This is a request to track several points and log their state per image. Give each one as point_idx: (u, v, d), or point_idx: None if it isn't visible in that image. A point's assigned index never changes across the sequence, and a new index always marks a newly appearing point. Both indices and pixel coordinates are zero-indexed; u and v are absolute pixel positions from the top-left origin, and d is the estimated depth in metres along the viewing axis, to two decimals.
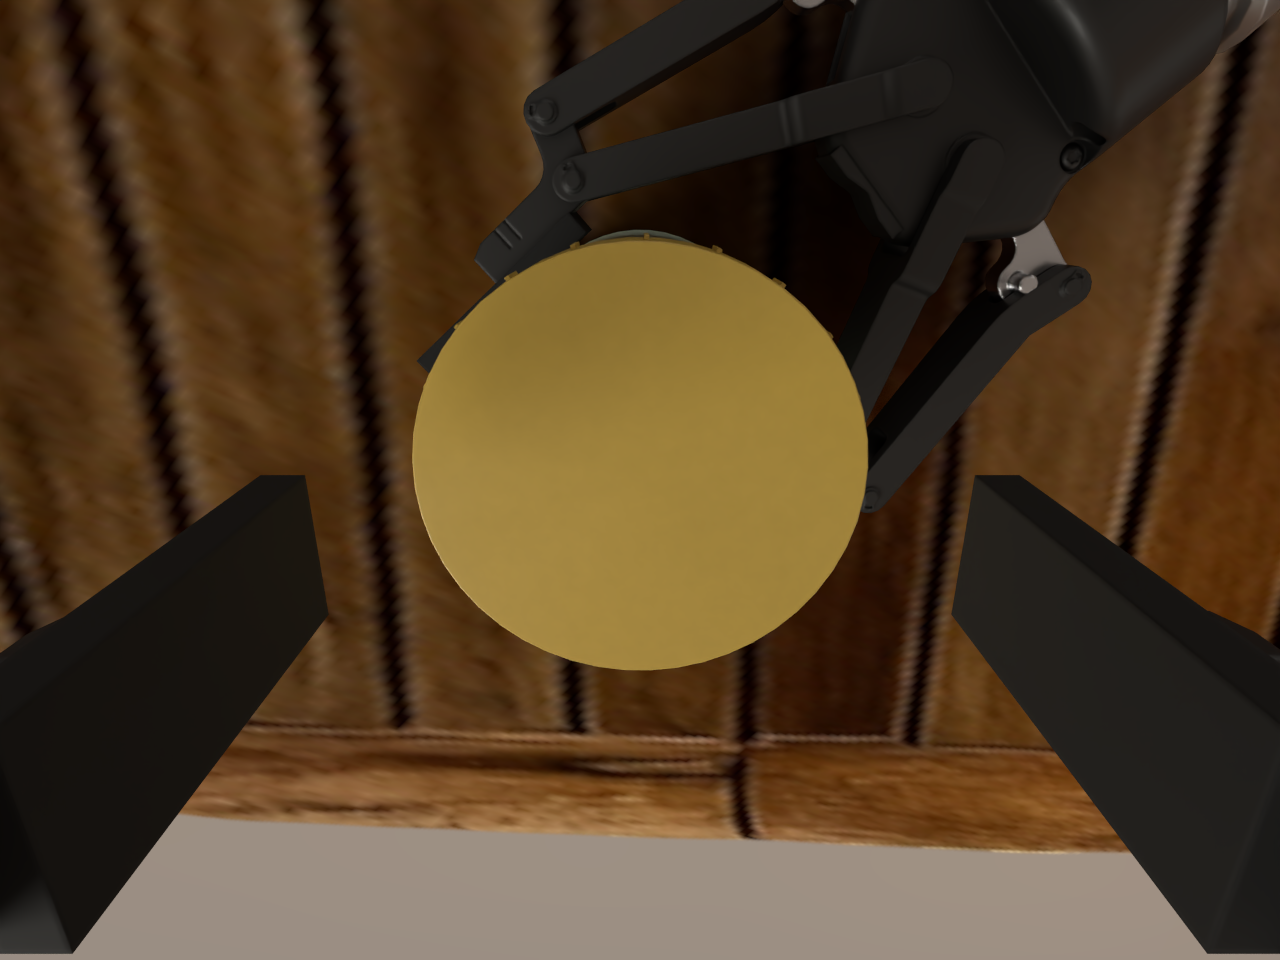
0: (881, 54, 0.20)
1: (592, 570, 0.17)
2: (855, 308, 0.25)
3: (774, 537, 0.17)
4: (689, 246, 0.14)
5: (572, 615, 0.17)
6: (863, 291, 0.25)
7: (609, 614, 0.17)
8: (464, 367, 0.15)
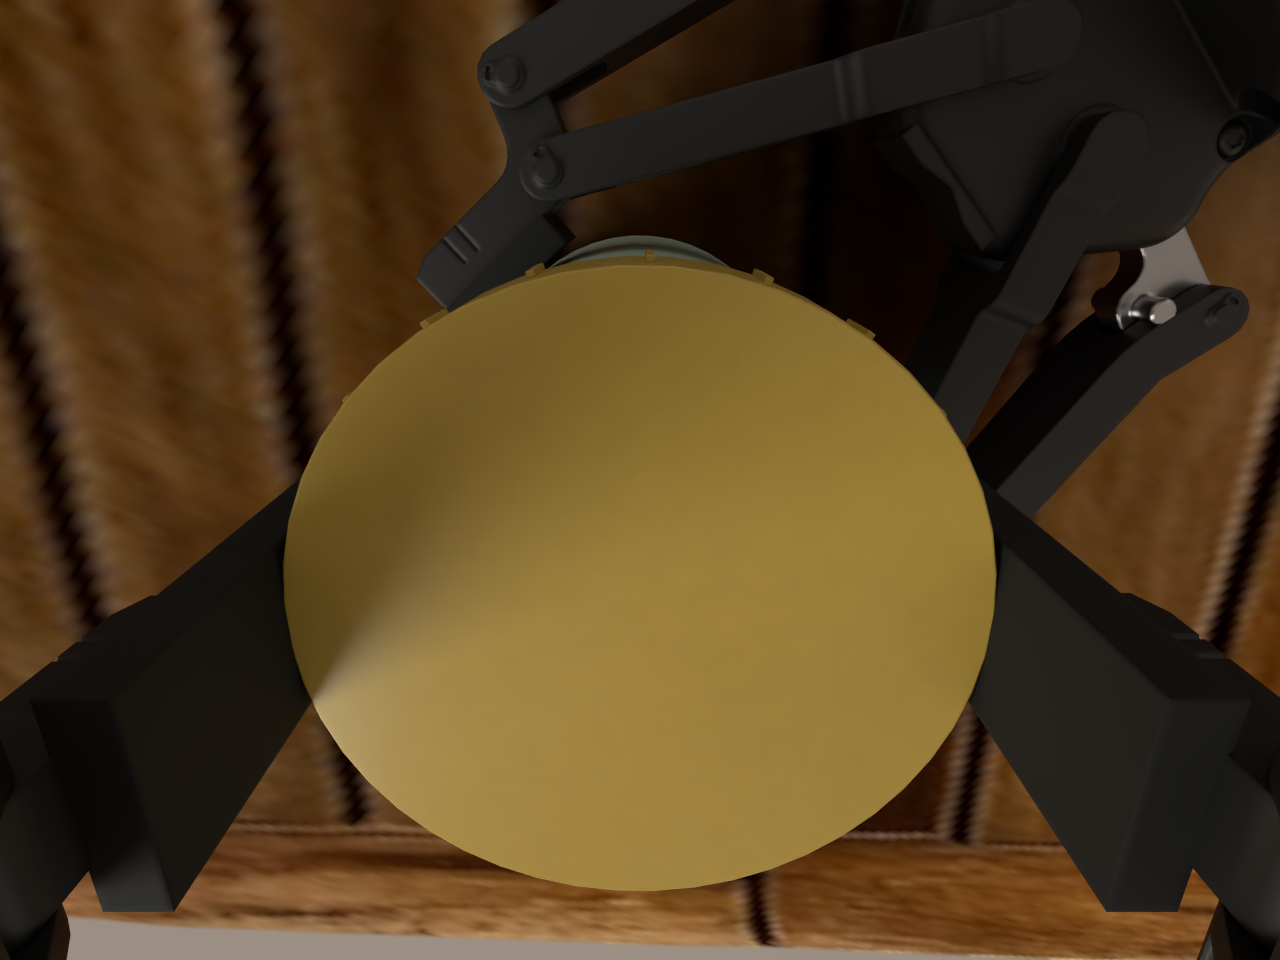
0: None
1: (567, 759, 0.11)
2: (920, 339, 0.19)
3: (844, 713, 0.11)
4: (721, 274, 0.09)
5: (538, 819, 0.12)
6: (931, 317, 0.19)
7: (594, 818, 0.12)
8: (357, 466, 0.10)
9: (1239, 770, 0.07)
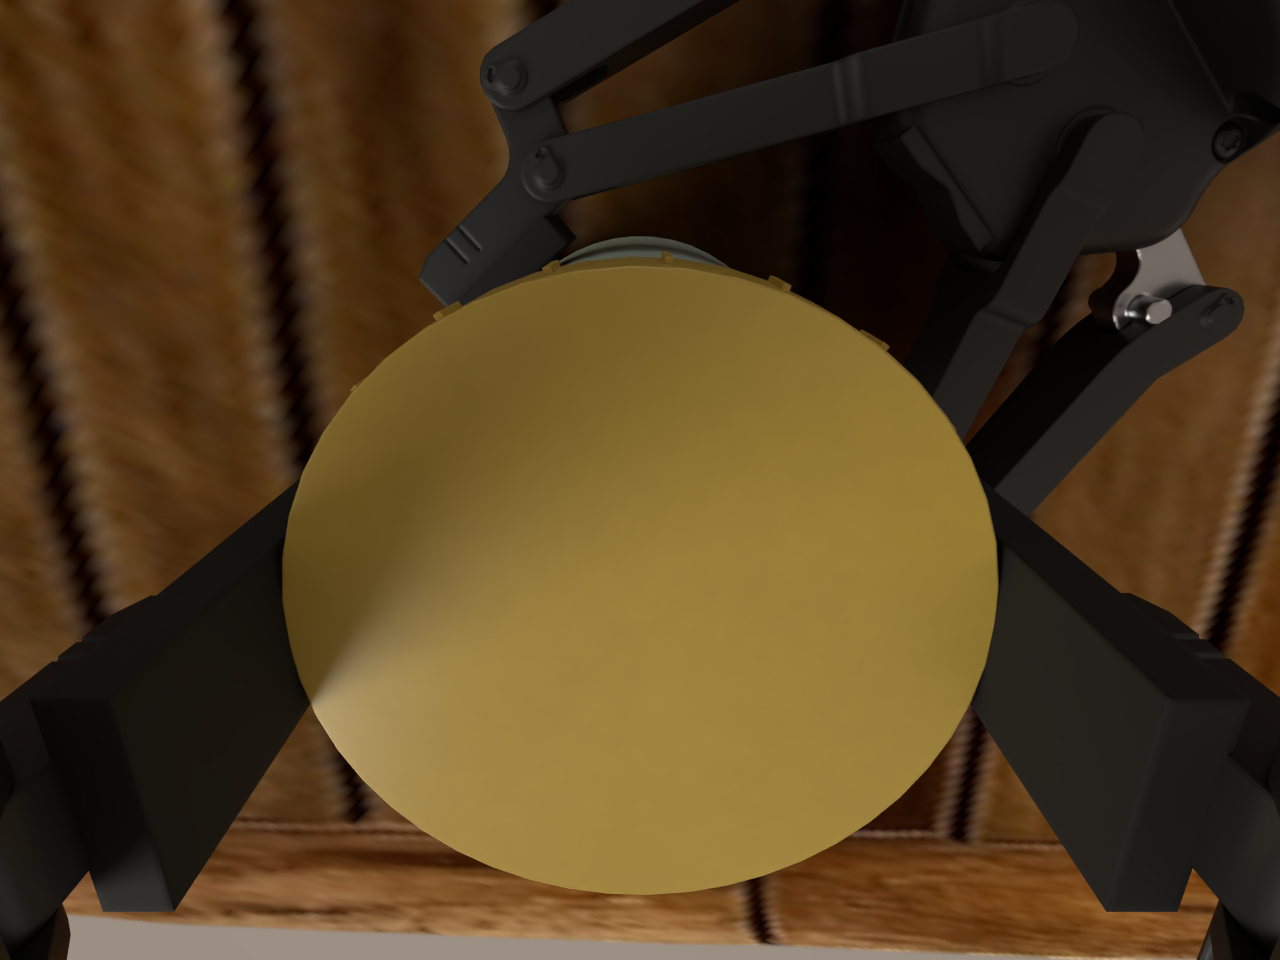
0: None
1: (747, 744, 0.11)
2: (918, 339, 0.19)
3: (834, 487, 0.10)
4: (320, 439, 0.09)
5: (802, 793, 0.11)
6: (929, 318, 0.19)
7: (828, 751, 0.11)
8: (393, 767, 0.11)
9: (1239, 769, 0.07)
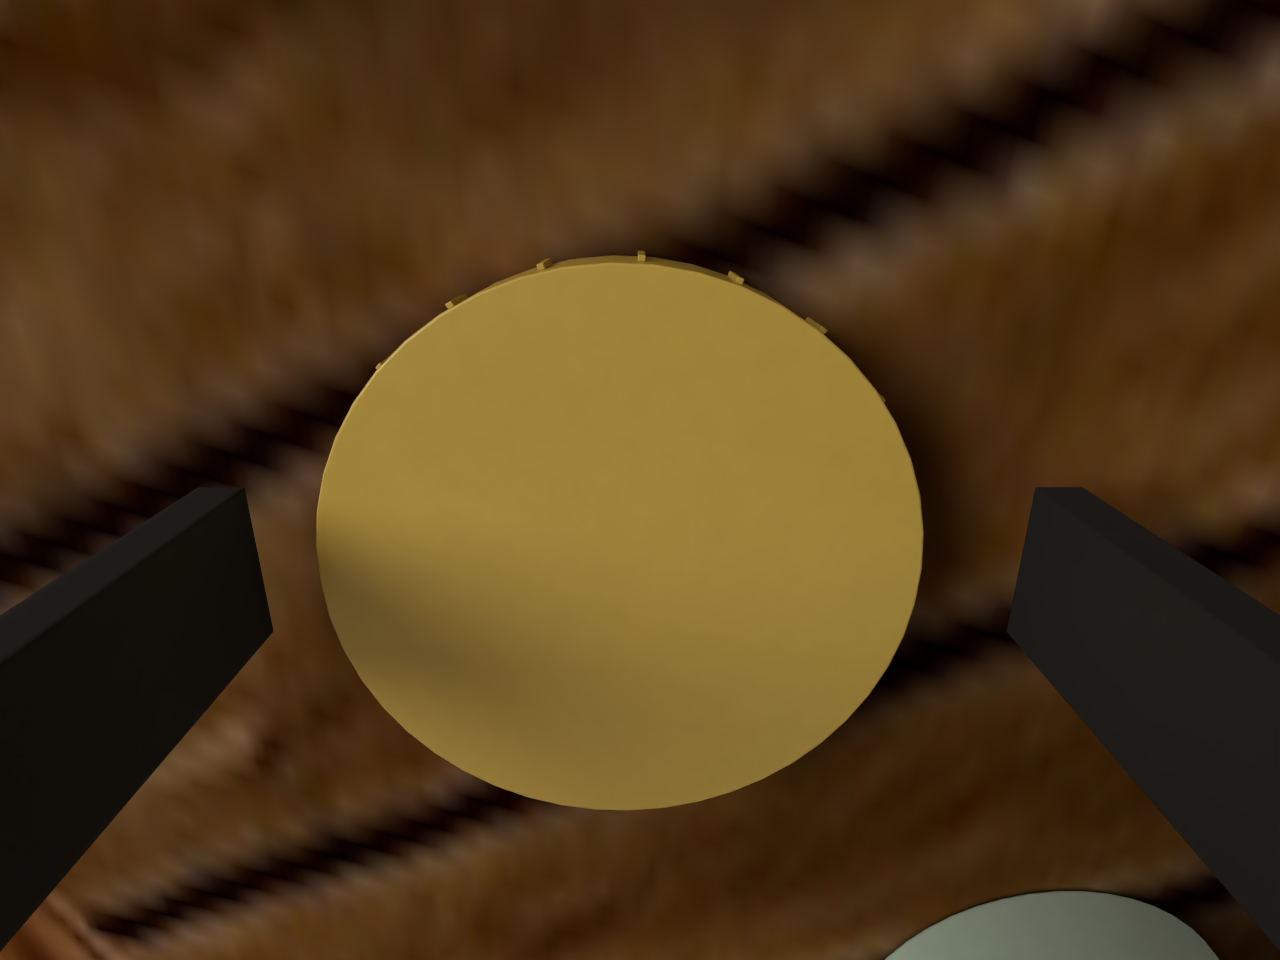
0: None
1: (714, 673, 0.13)
2: None
3: (782, 449, 0.11)
4: (350, 408, 0.11)
5: (762, 717, 0.13)
6: None
7: (783, 679, 0.13)
8: (409, 695, 0.13)
9: None
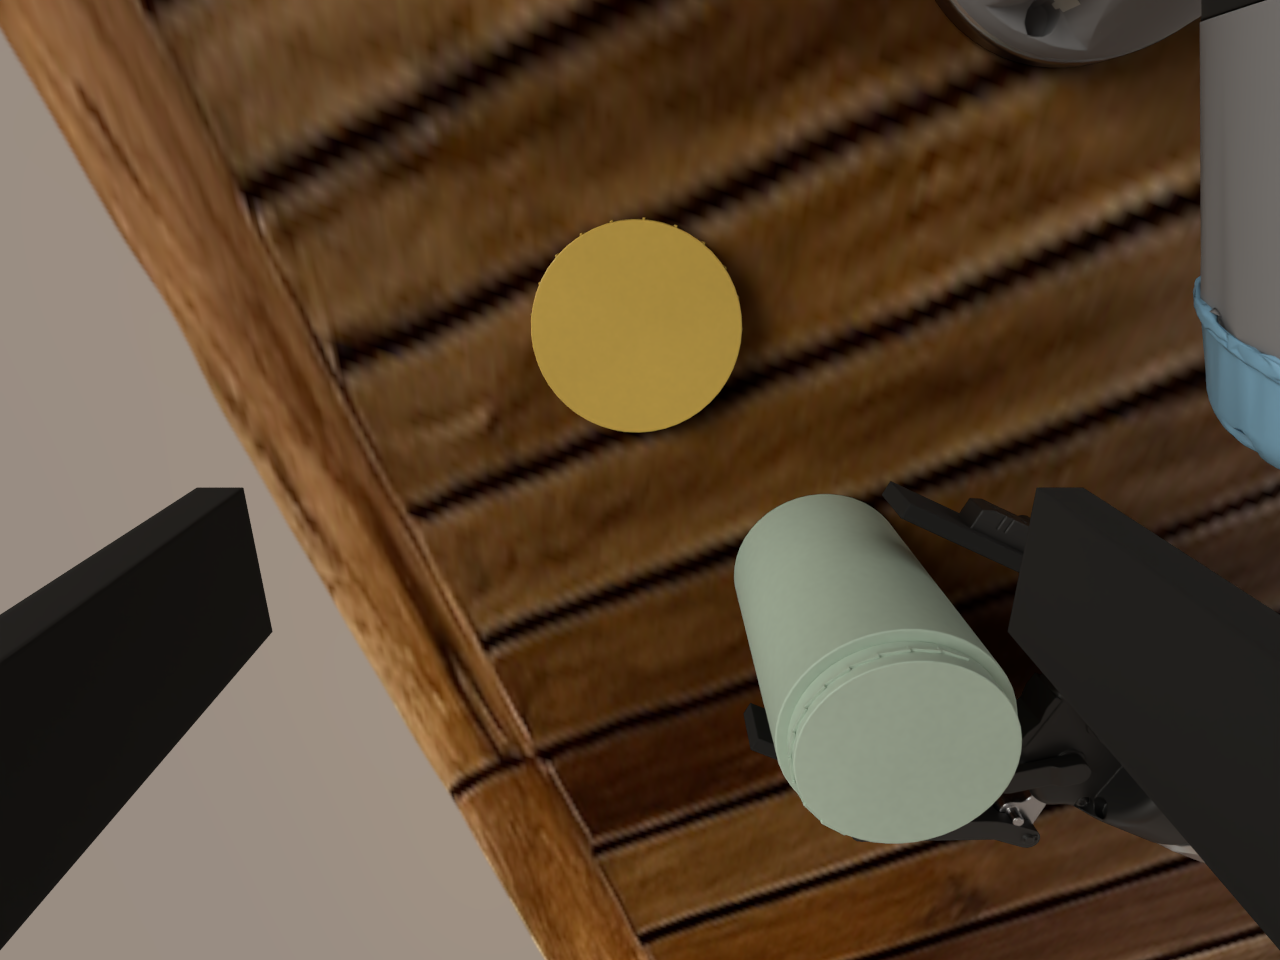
0: None
1: (670, 371, 0.36)
2: None
3: (691, 283, 0.34)
4: None
5: (688, 390, 0.36)
6: None
7: (695, 374, 0.36)
8: (559, 380, 0.36)
9: None
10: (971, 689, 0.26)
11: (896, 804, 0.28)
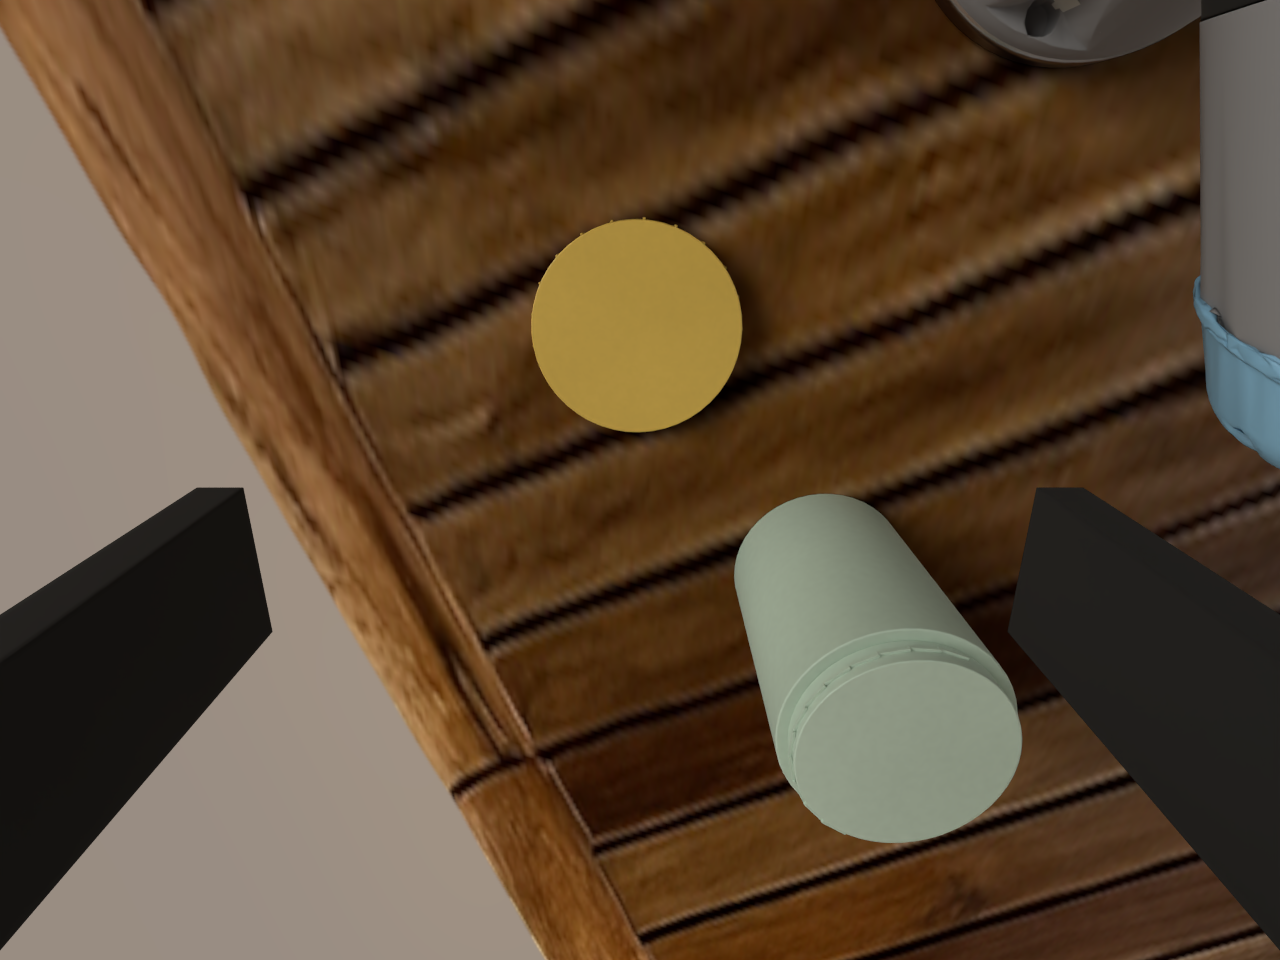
0: None
1: (670, 371, 0.36)
2: None
3: (691, 283, 0.34)
4: (548, 268, 0.34)
5: (688, 390, 0.36)
6: None
7: (695, 373, 0.36)
8: (559, 379, 0.36)
9: None
10: (971, 688, 0.26)
11: (896, 803, 0.28)
